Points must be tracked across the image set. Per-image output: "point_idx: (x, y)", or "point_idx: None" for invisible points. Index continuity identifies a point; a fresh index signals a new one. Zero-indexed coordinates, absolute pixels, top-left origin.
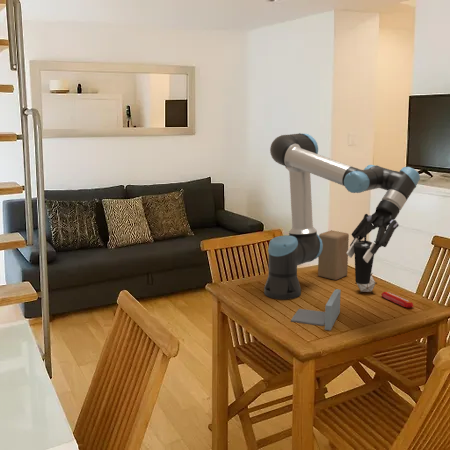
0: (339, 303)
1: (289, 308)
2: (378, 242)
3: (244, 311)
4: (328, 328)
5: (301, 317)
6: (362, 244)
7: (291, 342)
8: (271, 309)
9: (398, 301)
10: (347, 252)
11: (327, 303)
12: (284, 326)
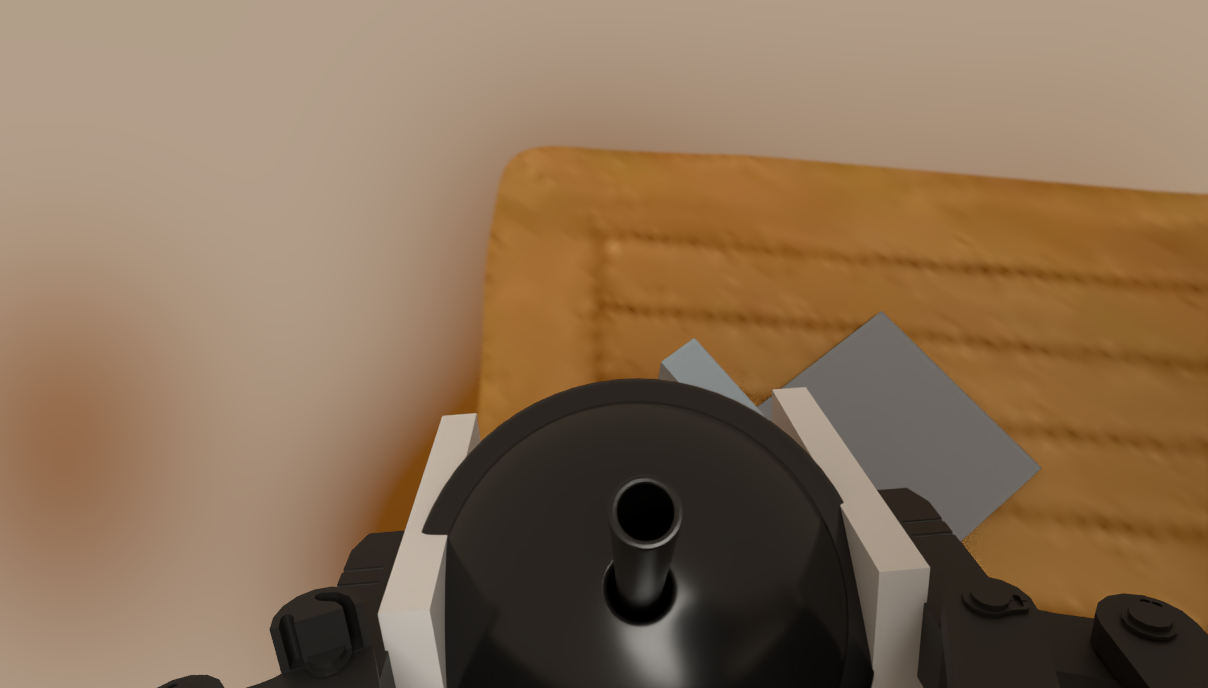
0: None
1: (1089, 438)
2: (285, 680)
3: (1131, 194)
4: None
5: (889, 386)
6: (569, 448)
7: (637, 170)
8: (1110, 333)
9: None
10: (794, 395)
11: (716, 372)
12: (831, 250)
